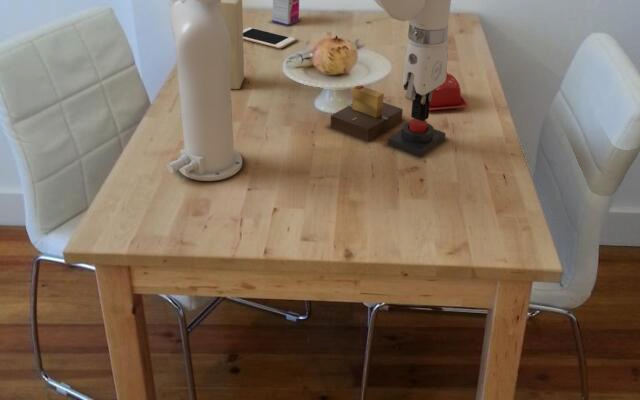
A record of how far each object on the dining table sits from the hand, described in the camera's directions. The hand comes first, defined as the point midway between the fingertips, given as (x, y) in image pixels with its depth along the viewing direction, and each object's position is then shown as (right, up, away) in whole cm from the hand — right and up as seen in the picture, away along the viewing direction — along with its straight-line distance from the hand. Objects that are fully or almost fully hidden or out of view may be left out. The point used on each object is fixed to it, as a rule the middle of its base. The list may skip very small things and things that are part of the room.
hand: (419, 118), depth 154 cm
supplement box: (-31, +36, +65) cm, 80 cm away
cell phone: (-36, +28, +53) cm, 70 cm away
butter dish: (+7, +6, +20) cm, 22 cm away
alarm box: (0, -5, +3) cm, 6 cm away
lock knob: (-10, +2, +8) cm, 13 cm away
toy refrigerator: (-43, +12, +27) cm, 53 cm away
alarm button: (0, -2, +1) cm, 3 cm away
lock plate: (-10, 0, +10) cm, 14 cm away
